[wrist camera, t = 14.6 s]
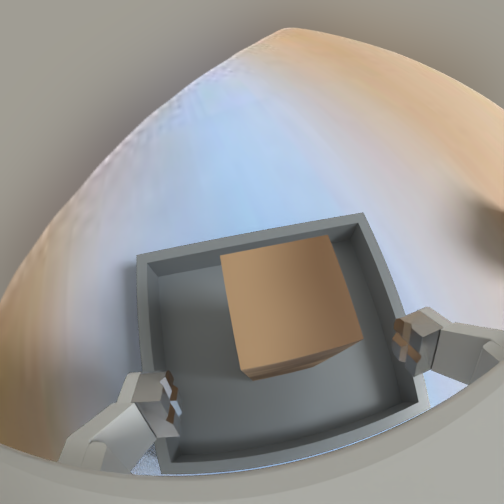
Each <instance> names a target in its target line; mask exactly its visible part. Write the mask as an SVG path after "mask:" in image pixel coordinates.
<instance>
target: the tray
mask: <svg viewBox="0 0 504 504" xmlns="http://www.w3.org/2000/svg"><path fill="white" fill-rule="evenodd" d="M323 235H328V236H329V239H330V241H331V244H332V246H333V249H334V252H335V254H336V257H337V260H338V263H339V265H340V268H341V271H342V274H343V277H344V279H345V282H346V285H347V288H348V291H349V294H350V297H351V300H352V303H353V306H354V309H355V312H356V315H357V318H358V322H359V325H360V328H361V331H362V335H363V338H364V339H363V340H361V341H359V342H358V343H356V344H354V345H353V346H351V347H349V348H347V349H346V350H344V351H342V352H340V353H338V354H337V355H335V356H333V357H331V358H329V359H327V360H325V361H324V362H322V363H320V364H318V365H316V366H314V367H312V368H308V369H304V370H300V371H296V372H292V373H288V374H283V375H279V376H275V377H270V378H265V379H260V380H255V381H252V380H251V379H250V378H249V377H248V376H247V375H246V374H245V373H244V372H242V371H241V368H240V363H239V358H238V353H237V348H236V343H235V338H234V333H233V327H232V322H231V316H230V311H229V305H228V300H227V294H226V289H225V283H224V277H223V271H222V265H221V259H220V255H225V254H231V253H236V252H241V251H246V250H251V249H256V248H261V247H266V246H272V245H277V244H282V243H287V242H292V241H297V240H303V239H308V238H313V237H318V236H323ZM137 310H138V328H139V342H140V353H141V363H142V372H148V371H162V370H169V371H170V372H171V374H172V376H173V378H174V382H173V385H174V386H176V387H177V388H178V389H179V392H180V394H181V398H182V405H183V409H182V413H181V415H180V416H179V419H180V421H181V430H180V436H177V437H161V438H157V439H156V441H155V442H154V445H155V450H156V454H157V458H158V463H159V467H160V471H161V474H199V473H215V472H226V471H235V470H243V469H250V468H256V467H262V466H268V465H273V464H278V463H283V462H288V461H292V460H297V459H301V458H305V457H309V456H312V455H316V454H319V453H323V452H326V451H330V450H333V449H336V448H339V447H342V446H345V445H348V444H351V443H354V442H356V441H359V440H362V439H364V438H367V437H370V436H372V435H375V434H377V433H379V432H382V431H384V430H386V429H389V428H391V427H393V426H395V425H398V424H400V423H402V422H404V421H406V420H408V419H410V418H412V417H414V416H416V415H418V414H420V413H422V412H424V411H426V410H427V409H429V408H431V407H430V402H429V398H428V393H427V389H426V384H425V380H424V376H423V373H422V374H420V375H418V376H415V377H413V376H412V375H411V373H410V372H409V371H408V370H407V369H406V368H405V362H402V361H399V360H398V359H397V358H396V357H395V355H394V353H393V350H392V338H393V337H394V335H395V333H396V331H395V330H394V329H393V328H394V322H395V320H396V319H397V318H400V317H402V316H405V312H404V309H403V306H402V304H401V301H400V298H399V295H398V293H397V290H396V287H395V285H394V282H393V279H392V277H391V274H390V272H389V269H388V267H387V264H386V262H385V260H384V257H383V255H382V252H381V250H380V248H379V246H378V243H377V241H376V239H375V237H374V234H373V232H372V230H371V228H370V226H369V224H368V221H367V219H366V217H365V215H364V213H358V214H352V215H346V216H340V217H334V218H328V219H322V220H317V221H311V222H305V223H300V224H294V225H288V226H283V227H277V228H272V229H267V230H261V231H256V232H250V233H245V234H240V235H235V236H229V237H224V238H219V239H214V240H209V241H204V242H199V243H194V244H189V245H184V246H179V247H174V248H169V249H164V250H159V251H154V252H149V253H145V254H140V255H137Z"/></svg>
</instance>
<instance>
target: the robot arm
mask: <svg viewBox="0 0 504 504" xmlns="http://www.w3.org/2000/svg"><path fill="white" fill-rule="evenodd" d="M393 329H394V330H395V331H396V333H395V335H394V337H393V338H392V350H393V353H394V355H395V357H396V358H397V359H398V360H399V361H402V362H405V368H406V369H407V370H408V371H409V372H410V373H411V375H412V376H413V377H415V376H418V375H420V374H422V373H424V372H426V371H428V370H432V371H434V372H437V373H439V374H442V375H444V376H447V377H449V378H452V379H454V380H457V381H460V382H462V383H465V384H467V385H468V386H467V387H465V388H464V389H462V390H461V391H459V392H458V393H456V394H455V395H453V396H451V397H450V398H448V399H447V400H445V401H443V402H442V403H440V404H438V405H436V406H435V407H433V408H431V409H429V410H428V411H426V412H424V413H422V414H420V415H418V416H416V417H414V418H413V419H411V420H409V421H407V422H405V423H402V424H400V425H398V426H396V427H394V428H392V429H390V430H387V431H385V432H383V433H380V434H378V435H376V436H373V437H371V438H368V439H366V440H363V441H360V442H358V443H355V444H352V445H350V446H347V447H344V448H341V449H338V450H335V451H331V452H328V453H325V454H322V455H318V456H315V457H311V458H307V459H303V460H299V461H295V462H291V463H286V464H282V465H277V466H272V467H266V468H261V469H255V470H248V471H241V472H233V473H224V474H212V475H196V476H150V475H134V474H132V473H131V470H132V469H133V468H134V467H135V465H136V464H137V463H138V462H139V461H140V459H141V458H142V457H143V456H144V454H145V453H146V452H147V451H148V449H149V448H150V447H151V446H152V444H153V443H154V442H155V441H156V439H157V438H161V437H177V436H180V430H181V421H180V419H179V416H180V415H181V413H182V409H183V405H182V398H181V394H180V392H179V389H178V388H177V387H176V386H174V385H173V382H174V378H173V376H172V374H171V372H170V371H169V370H162V371H148V372H133V373H129V374H127V376H126V378H125V381H124V384H123V386H122V389H121V392H120V394H119V397H118V400H117V402H116V403H112V404H111V405H109V406H108V407H107V408H106V409H104V410H103V411H102V412H100V413H99V414H98V415H97V416H95V417H94V418H93V419H91V420H90V421H89V422H87V423H86V424H85V425H83V426H82V427H81V428H80V429H78V430H77V431H76V432H74V433H73V434H72V435H70V436H69V437H68V438H67V441H66V443H65V445H64V448H63V450H62V453H61V455H60V458H59V460H58V462H55V461H52V460H48V459H44V458H41V457H37V456H34V455H31V454H28V453H25V452H22V451H19V450H16V449H14V448H11V447H8V446H6V445H3V444H1V443H0V504H504V331H503V330H498V329H491V328H485V327H479V326H474V325H468V324H462V323H456V322H455V323H451V322H450V321H449V320H447V319H446V318H444V317H443V316H441V315H440V314H439V313H437V312H436V311H434V310H433V309H431V308H430V307H424V308H422V309H419V310H417V311H416V312H413V313H411V314H408V315H405V316H402V317H400V318H397V319H396V320H395V322H394V328H393Z"/></svg>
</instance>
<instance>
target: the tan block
mask: <svg viewBox="0 0 504 504" xmlns="http://www.w3.org/2000/svg"><path fill="white" fill-rule="evenodd" d="M220 259H221V265H222V271H223V277H224V283H225V289H226V294H227V300H228V305H229V311H230V316H231V322H232V327H233V333H234V338H235V343H236V348H237V353H238V358H239V363H240V368H241V371H242V372H244V373H245V374H246V375H247V376H248V377H249V378H250V379H251V380H252V381H255V380H260V379H265V378H270V377H275V376H279V375H283V374H288V373H292V372H296V371H300V370H304V369H308V368H312V367H314V366H316V365H318V364H320V363H322V362H324V361H325V360H327V359H329V358H331V357H333V356H335V355H337V354H338V353H340V352H342V351H344V350H346V349H347V348H349V347H351V346H353V345H354V344H356V343H358V342H359V341H361V340H363V339H364V338H363V335H362V331H361V328H360V325H359V322H358V318H357V315H356V312H355V309H354V306H353V303H352V300H351V297H350V294H349V291H348V288H347V285H346V282H345V279H344V277H343V274H342V271H341V268H340V265H339V263H338V260H337V257H336V254H335V252H334V249H333V246H332V244H331V241H330V239H329V236H328V235H323V236H318V237H313V238H308V239H303V240H297V241H292V242H287V243H282V244H277V245H272V246H266V247H261V248H256V249H251V250H246V251H241V252H236V253H231V254H225V255H220Z"/></svg>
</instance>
